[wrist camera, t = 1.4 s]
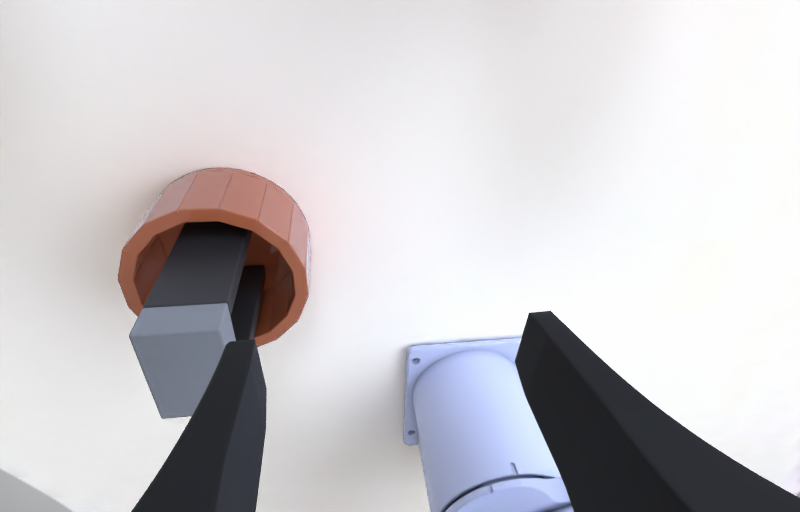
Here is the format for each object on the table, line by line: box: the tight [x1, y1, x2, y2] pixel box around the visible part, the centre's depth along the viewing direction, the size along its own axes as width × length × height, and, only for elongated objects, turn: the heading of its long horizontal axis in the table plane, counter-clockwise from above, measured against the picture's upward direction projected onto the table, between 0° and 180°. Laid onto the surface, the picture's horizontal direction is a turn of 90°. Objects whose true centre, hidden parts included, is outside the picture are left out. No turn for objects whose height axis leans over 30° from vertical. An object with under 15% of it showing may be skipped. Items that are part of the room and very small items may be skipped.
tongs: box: [129, 221, 266, 419], centre depth 20 cm, size 4×3×9 cm
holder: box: [118, 168, 311, 347], centre depth 22 cm, size 8×8×4 cm
